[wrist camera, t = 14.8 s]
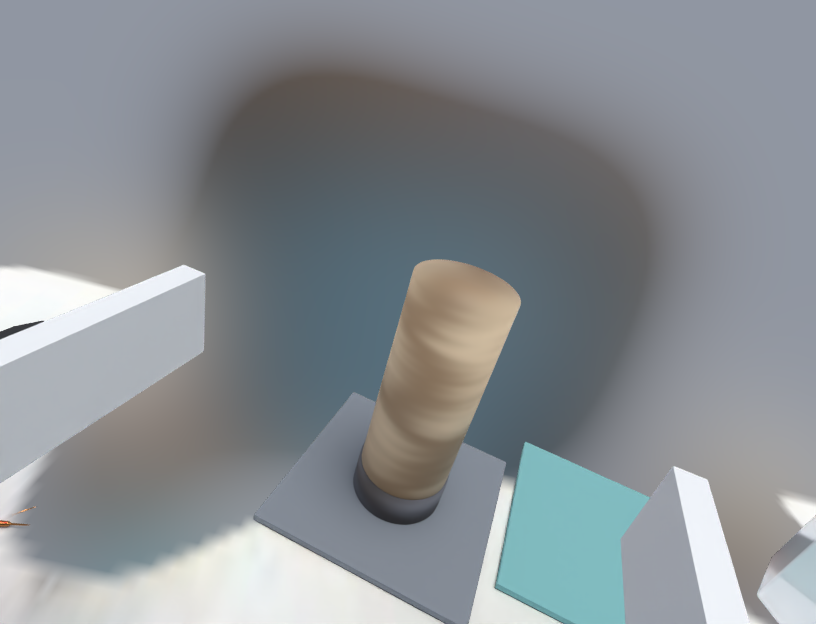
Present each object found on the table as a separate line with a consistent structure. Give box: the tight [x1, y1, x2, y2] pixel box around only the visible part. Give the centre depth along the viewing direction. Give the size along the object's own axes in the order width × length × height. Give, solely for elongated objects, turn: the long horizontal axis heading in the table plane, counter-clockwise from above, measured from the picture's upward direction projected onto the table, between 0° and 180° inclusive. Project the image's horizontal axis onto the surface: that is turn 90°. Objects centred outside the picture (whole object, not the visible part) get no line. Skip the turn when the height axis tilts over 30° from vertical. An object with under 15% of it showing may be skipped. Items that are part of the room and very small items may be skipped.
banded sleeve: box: [353, 260, 521, 525], centre depth 25 cm, size 5×5×14 cm
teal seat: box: [495, 442, 650, 624], centre depth 29 cm, size 12×12×1 cm
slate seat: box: [254, 392, 506, 624], centre depth 29 cm, size 12×12×1 cm
